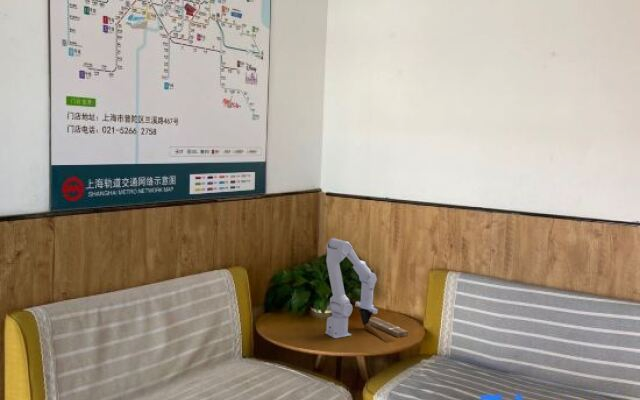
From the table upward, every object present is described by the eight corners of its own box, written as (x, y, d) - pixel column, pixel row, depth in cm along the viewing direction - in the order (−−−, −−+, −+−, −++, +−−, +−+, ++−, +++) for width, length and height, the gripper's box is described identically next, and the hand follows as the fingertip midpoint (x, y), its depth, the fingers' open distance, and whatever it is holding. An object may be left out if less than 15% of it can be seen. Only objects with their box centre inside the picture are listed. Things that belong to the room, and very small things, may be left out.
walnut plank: (397, 337, 263) (398, 332, 263) (365, 322, 283) (365, 318, 283) (407, 335, 267) (407, 331, 266) (374, 320, 286) (375, 316, 286)
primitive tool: (395, 342, 258) (396, 334, 258) (386, 344, 255) (386, 336, 255) (368, 329, 274) (369, 322, 274) (359, 331, 271) (360, 323, 271)
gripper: (383, 299, 268) (381, 327, 270) (364, 291, 280) (362, 319, 281) (371, 301, 264) (369, 330, 266) (352, 293, 276) (350, 321, 278)
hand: (365, 324), depth 273 cm, fingers closed
